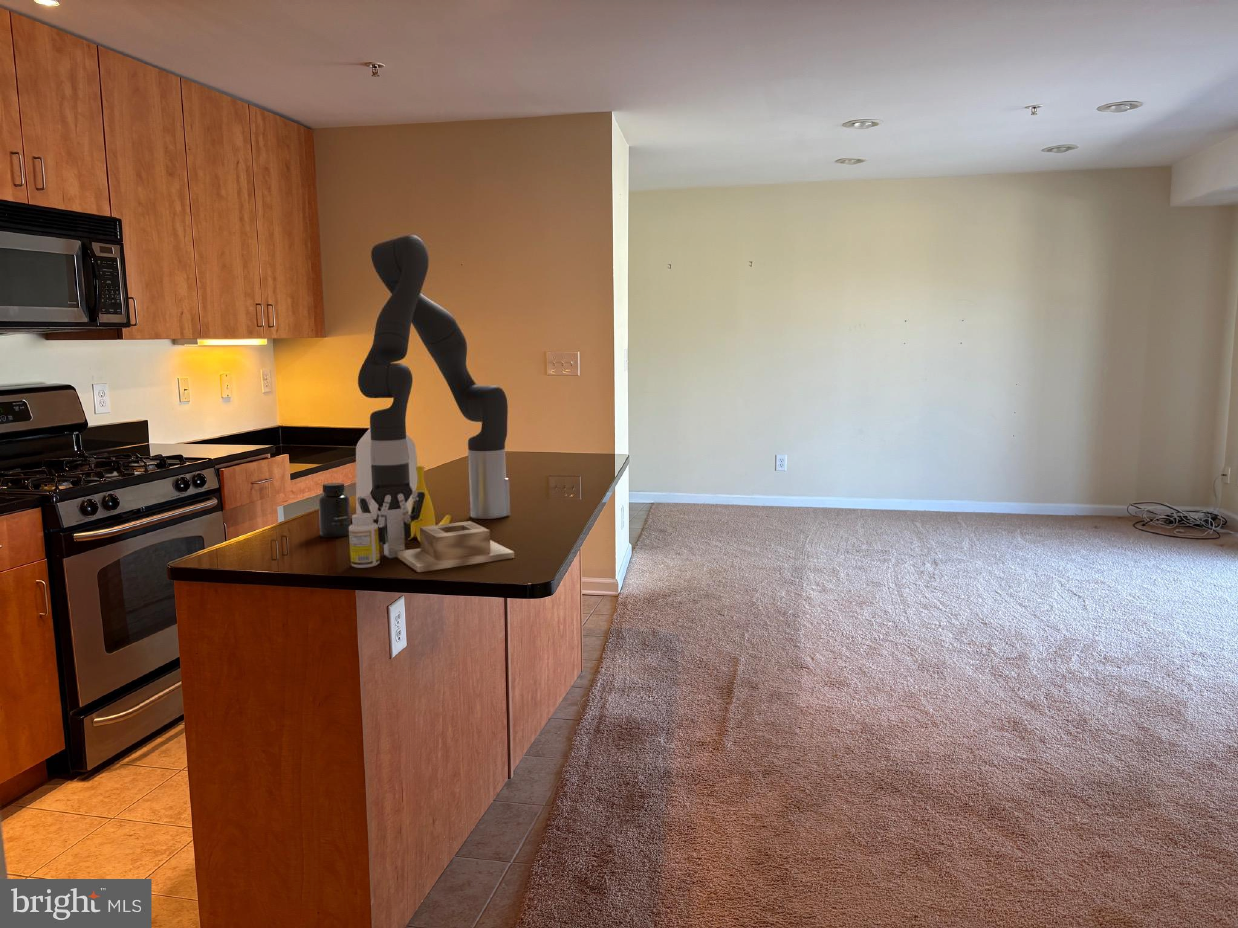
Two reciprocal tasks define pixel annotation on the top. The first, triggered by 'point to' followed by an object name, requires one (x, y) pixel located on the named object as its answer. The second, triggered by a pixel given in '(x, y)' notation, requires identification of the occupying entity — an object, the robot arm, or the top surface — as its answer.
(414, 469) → the milk
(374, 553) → the supplement bottle
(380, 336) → the robot arm
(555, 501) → the top surface
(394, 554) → the gray rectangular block
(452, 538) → the stone box on board
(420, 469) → the banana peel
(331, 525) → the supplement bottle
